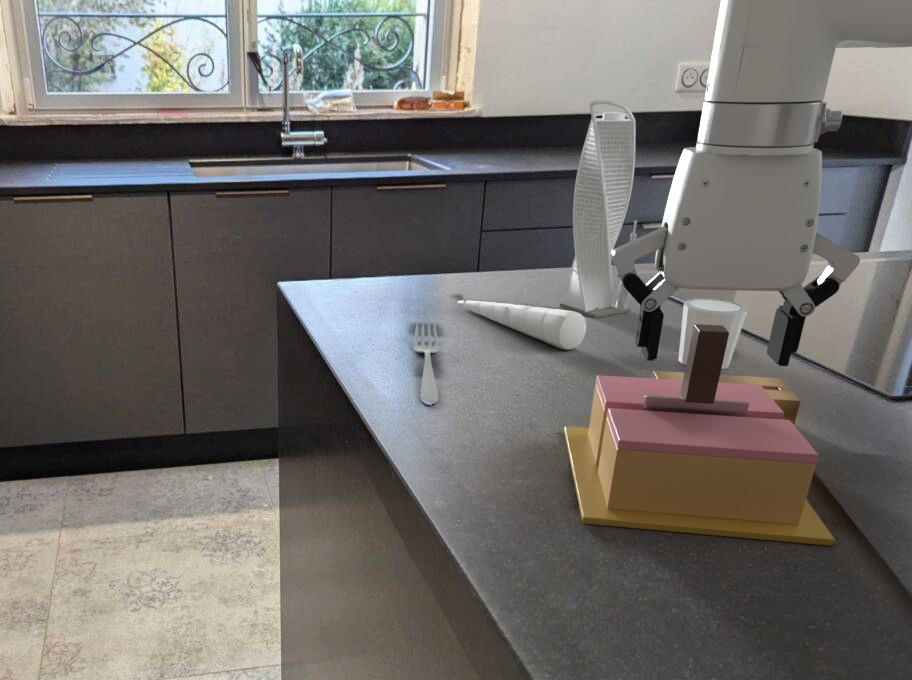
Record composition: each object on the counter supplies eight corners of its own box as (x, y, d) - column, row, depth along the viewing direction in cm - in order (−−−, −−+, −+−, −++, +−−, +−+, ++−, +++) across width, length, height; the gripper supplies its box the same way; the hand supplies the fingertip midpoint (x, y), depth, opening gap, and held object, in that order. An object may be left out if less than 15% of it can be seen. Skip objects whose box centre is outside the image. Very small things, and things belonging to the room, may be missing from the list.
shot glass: (666, 364, 98) (677, 307, 94) (680, 349, 103) (690, 294, 100) (729, 375, 94) (742, 316, 91) (739, 359, 99) (753, 302, 96)
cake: (762, 445, 77) (779, 379, 74) (833, 546, 61) (858, 466, 58) (563, 431, 80) (572, 367, 77) (582, 523, 64) (594, 447, 61)
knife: (727, 473, 71) (762, 327, 65) (733, 484, 69) (770, 334, 63) (629, 466, 72) (655, 321, 66) (633, 476, 70) (660, 329, 65)
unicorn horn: (479, 302, 123) (481, 270, 121) (587, 349, 103) (592, 311, 101) (451, 306, 121) (454, 273, 119) (556, 354, 101) (561, 316, 99)
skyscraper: (588, 319, 115) (619, 101, 103) (546, 305, 121) (571, 99, 109) (630, 311, 118) (665, 99, 106) (588, 298, 125) (617, 97, 113)
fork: (414, 405, 86) (415, 389, 86) (413, 336, 108) (413, 323, 107) (445, 406, 86) (446, 390, 85) (437, 336, 108) (438, 323, 107)
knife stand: (770, 414, 84) (780, 377, 82) (790, 439, 78) (801, 400, 76) (646, 406, 86) (653, 370, 84) (657, 430, 80) (664, 392, 79)
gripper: (869, 124, 60) (813, 347, 68) (621, 126, 63) (593, 339, 71) (916, 132, 54) (848, 379, 61) (636, 134, 57) (604, 369, 64)
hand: (711, 357), depth 66 cm, fingers open, 9 cm apart
